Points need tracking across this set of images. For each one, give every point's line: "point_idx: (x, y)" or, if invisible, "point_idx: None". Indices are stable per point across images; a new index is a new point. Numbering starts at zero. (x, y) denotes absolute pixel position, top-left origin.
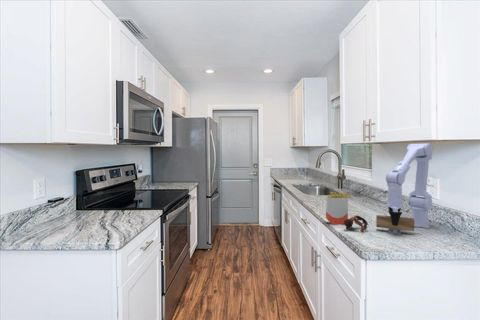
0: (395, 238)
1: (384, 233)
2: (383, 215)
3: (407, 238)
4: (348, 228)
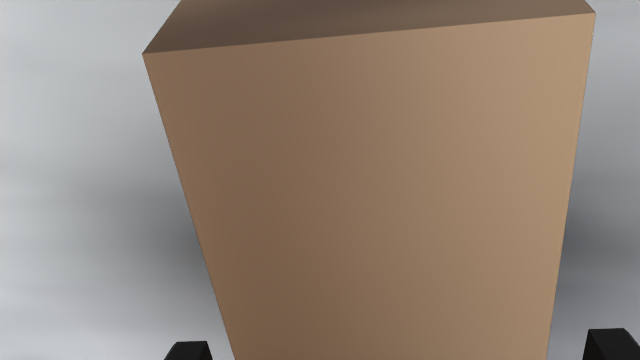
0: (15, 242)
1: None
2: (525, 310)
3: (149, 355)
4: None
